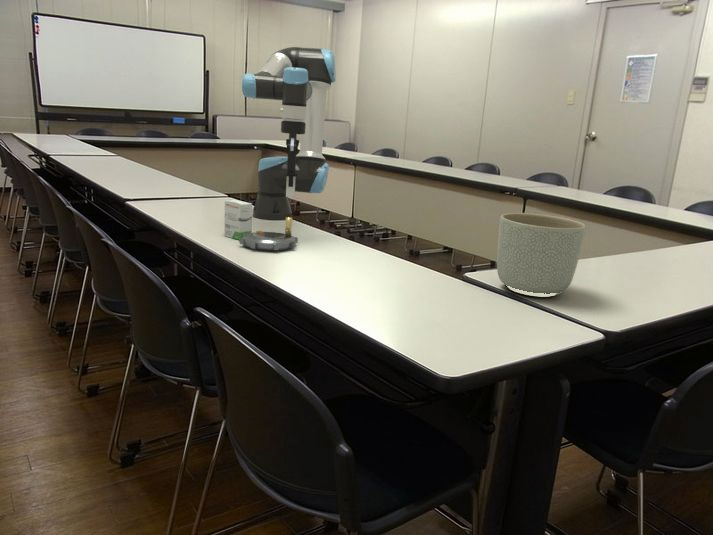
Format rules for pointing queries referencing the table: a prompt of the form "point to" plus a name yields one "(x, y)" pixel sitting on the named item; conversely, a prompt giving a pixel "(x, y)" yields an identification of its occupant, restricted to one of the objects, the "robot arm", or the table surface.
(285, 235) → the sprocket
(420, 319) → the table surface
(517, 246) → the planter
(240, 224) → the ink box
